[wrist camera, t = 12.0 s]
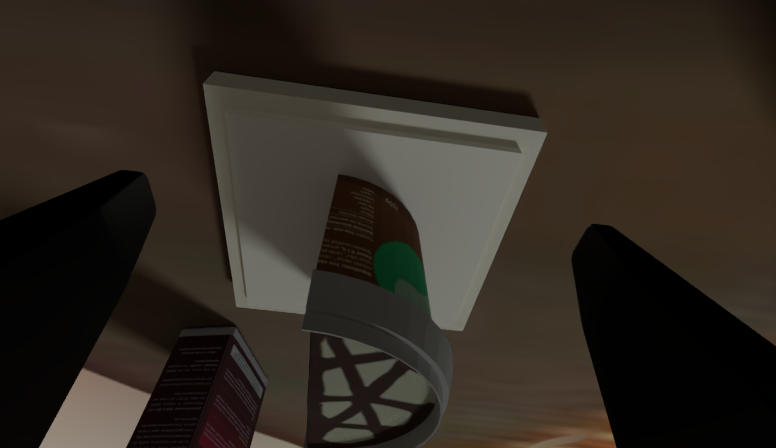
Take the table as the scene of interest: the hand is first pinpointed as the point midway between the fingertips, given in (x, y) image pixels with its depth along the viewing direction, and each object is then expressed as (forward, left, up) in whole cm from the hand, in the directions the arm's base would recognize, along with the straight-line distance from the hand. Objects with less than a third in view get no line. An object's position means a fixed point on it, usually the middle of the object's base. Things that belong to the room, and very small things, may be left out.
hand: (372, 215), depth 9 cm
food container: (-2, +11, -11) cm, 16 cm away
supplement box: (+10, +28, -13) cm, 33 cm away
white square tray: (0, +11, -13) cm, 17 cm away
